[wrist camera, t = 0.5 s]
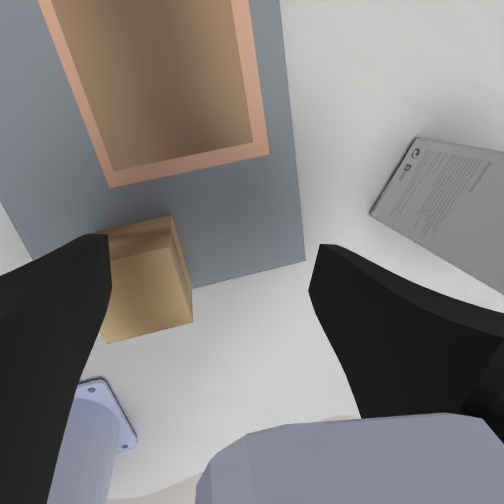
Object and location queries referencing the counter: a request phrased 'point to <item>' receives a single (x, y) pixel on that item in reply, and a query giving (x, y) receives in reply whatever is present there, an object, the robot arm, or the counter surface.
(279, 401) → the counter surface
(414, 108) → the counter surface
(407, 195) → the skincare box
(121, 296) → the oak block
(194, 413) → the counter surface
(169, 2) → the walnut base block
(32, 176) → the grey square plate
